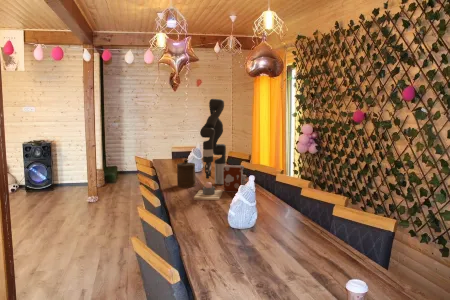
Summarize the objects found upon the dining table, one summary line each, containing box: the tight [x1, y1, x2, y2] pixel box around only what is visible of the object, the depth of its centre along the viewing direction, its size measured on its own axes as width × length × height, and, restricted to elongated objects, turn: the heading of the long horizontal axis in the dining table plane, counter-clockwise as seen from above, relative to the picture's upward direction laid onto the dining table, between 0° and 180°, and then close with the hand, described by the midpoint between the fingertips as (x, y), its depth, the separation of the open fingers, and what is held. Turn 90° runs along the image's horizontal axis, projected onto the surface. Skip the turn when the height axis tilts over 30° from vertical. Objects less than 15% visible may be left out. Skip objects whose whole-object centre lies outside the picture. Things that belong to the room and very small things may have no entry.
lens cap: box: [205, 181, 213, 188], centre depth 297 cm, size 4×4×8 cm
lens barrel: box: [202, 185, 216, 195], centre depth 297 cm, size 8×8×5 cm
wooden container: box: [176, 158, 196, 188], centre depth 332 cm, size 15×15×22 cm
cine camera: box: [222, 164, 249, 193], centre depth 309 cm, size 9×19×20 cm, turn 78°
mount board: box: [193, 189, 224, 201], centre depth 297 cm, size 24×18×2 cm
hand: (208, 177), depth 295 cm, fingers open, 8 cm apart
